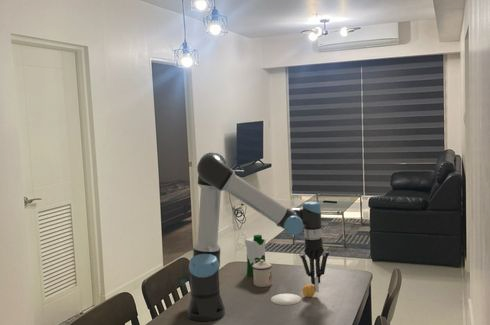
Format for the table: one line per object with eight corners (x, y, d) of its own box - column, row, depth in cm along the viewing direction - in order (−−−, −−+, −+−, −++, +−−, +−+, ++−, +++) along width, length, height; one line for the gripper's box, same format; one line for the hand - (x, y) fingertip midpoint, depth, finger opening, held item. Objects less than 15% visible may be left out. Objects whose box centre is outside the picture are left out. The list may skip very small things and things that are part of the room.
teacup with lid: (273, 286, 234) (272, 262, 233) (254, 287, 233) (253, 263, 232) (270, 278, 246) (269, 255, 245) (252, 279, 245) (250, 256, 244)
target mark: (274, 306, 209) (274, 306, 209) (267, 295, 222) (267, 295, 222) (304, 303, 212) (304, 302, 212) (296, 292, 224) (296, 292, 224)
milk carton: (255, 278, 247) (254, 238, 245) (244, 274, 254) (242, 235, 252) (269, 274, 252) (267, 234, 251) (257, 270, 259) (255, 232, 258)
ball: (311, 301, 216) (301, 294, 215) (307, 297, 221) (298, 290, 220) (319, 291, 216) (309, 284, 215) (315, 287, 222) (305, 280, 220)
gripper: (301, 241, 212) (304, 295, 214) (330, 238, 214) (333, 291, 216) (296, 237, 219) (299, 289, 221) (324, 234, 221) (327, 286, 224)
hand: (316, 290), depth 219 cm, fingers closed
